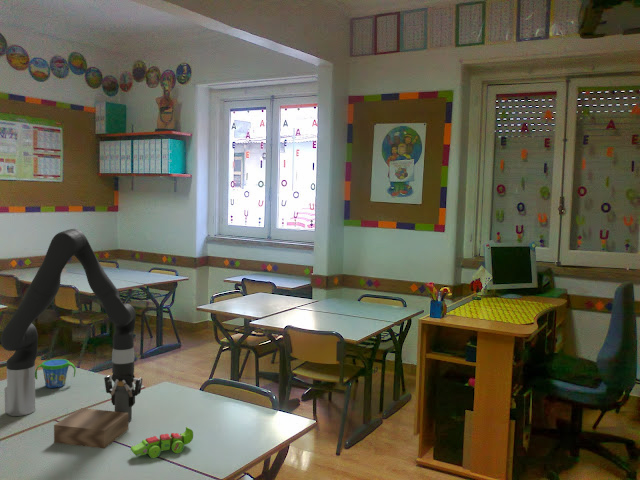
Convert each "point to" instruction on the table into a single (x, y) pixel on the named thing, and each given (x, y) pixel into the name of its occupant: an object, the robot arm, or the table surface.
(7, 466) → the table surface
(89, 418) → the wooden box
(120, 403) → the bottle
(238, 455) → the table surface
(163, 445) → the toy crocodile
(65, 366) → the snack cup
